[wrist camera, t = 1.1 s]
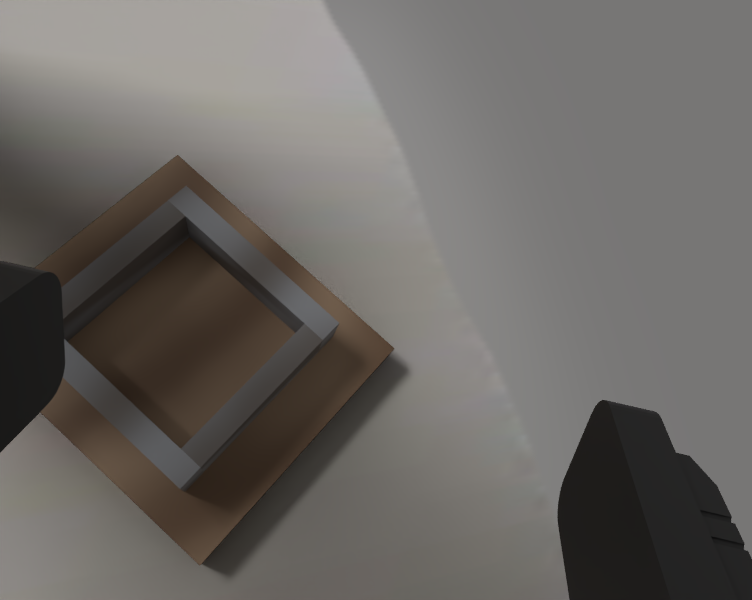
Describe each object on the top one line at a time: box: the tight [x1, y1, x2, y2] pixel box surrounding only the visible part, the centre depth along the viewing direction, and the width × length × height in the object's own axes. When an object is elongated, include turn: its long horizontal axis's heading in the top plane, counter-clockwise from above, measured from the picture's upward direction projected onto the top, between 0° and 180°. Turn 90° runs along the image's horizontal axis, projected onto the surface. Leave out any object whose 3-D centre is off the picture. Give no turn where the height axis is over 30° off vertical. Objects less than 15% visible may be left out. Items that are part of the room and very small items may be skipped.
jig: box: [35, 155, 394, 565], centre depth 32 cm, size 16×14×4 cm
